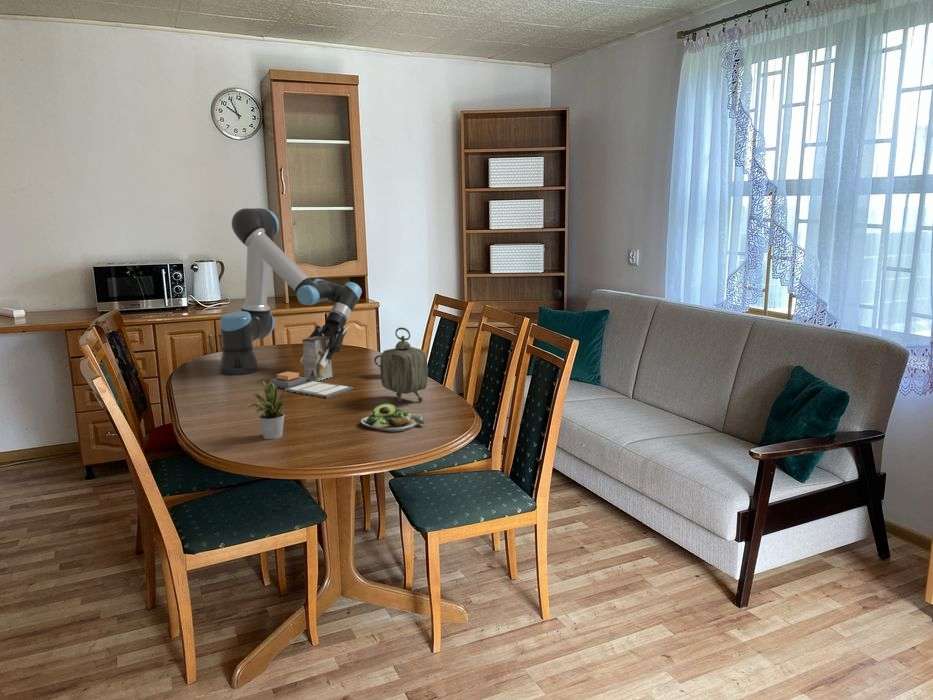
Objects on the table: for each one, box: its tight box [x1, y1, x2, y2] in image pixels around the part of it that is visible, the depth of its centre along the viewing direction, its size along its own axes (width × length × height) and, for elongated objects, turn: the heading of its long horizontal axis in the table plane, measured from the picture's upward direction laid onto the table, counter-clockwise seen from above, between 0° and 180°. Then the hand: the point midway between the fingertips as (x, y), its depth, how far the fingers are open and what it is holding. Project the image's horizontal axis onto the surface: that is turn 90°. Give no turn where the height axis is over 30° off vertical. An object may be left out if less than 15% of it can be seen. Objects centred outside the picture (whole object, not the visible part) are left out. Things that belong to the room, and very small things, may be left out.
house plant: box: [245, 380, 291, 440], centre depth 194 cm, size 14×14×16 cm
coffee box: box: [302, 335, 333, 382], centre depth 262 cm, size 9×6×16 cm
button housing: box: [269, 376, 307, 389], centre depth 253 cm, size 9×9×2 cm
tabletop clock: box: [379, 327, 429, 403], centre depth 229 cm, size 14×9×25 cm, turn 49°
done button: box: [276, 371, 300, 380], centre depth 253 cm, size 6×6×2 cm
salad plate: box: [359, 403, 427, 433], centre depth 206 cm, size 19×18×5 cm
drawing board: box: [284, 381, 354, 399], centre depth 246 cm, size 20×14×1 cm
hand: (312, 364), depth 259 cm, fingers open, 9 cm apart
